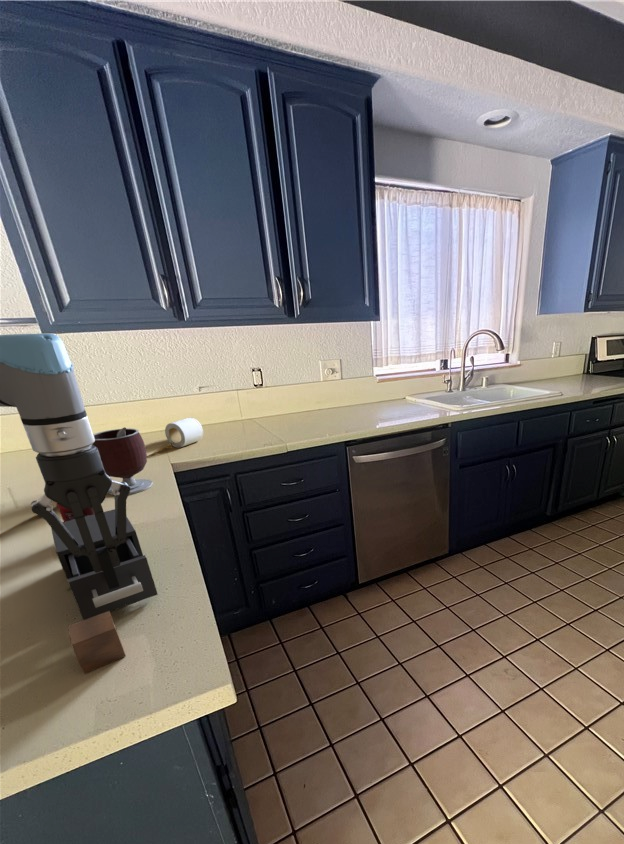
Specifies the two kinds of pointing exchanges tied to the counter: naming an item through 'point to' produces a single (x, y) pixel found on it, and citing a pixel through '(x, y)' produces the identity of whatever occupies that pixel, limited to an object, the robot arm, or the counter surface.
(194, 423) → the toilet paper
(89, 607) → the drawer
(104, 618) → the block
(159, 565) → the counter surface
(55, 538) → the cabinet
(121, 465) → the mate gourd
